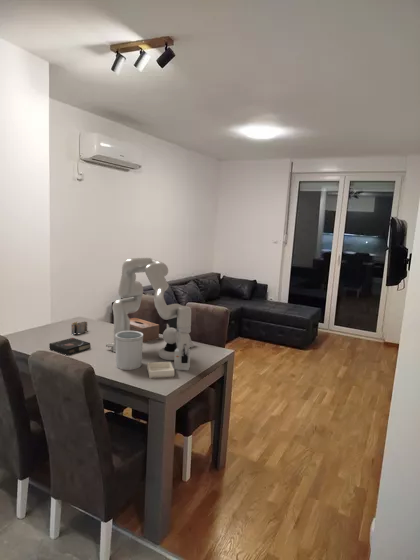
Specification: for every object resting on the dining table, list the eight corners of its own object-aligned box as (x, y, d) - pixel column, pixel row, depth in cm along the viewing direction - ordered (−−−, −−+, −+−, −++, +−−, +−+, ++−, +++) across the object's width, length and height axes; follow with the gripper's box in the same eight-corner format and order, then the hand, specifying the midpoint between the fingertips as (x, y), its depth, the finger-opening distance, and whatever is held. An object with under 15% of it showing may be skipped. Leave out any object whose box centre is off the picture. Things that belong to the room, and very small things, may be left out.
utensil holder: (136, 371, 194) (137, 339, 192) (110, 368, 197) (110, 336, 195) (146, 362, 209) (147, 332, 206) (121, 359, 211) (122, 329, 209)
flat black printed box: (67, 356, 213) (67, 349, 213) (49, 349, 222) (49, 343, 222) (90, 349, 227) (90, 343, 226) (72, 343, 236) (72, 337, 236)
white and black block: (176, 352, 229) (173, 336, 230) (171, 352, 232) (167, 336, 233) (194, 346, 242) (191, 331, 243) (189, 347, 245) (186, 332, 246)
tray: (149, 378, 187) (149, 371, 186) (146, 369, 199) (147, 362, 198) (174, 376, 190) (174, 370, 190) (170, 367, 202) (170, 361, 202)
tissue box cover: (118, 334, 260) (118, 320, 259) (135, 331, 271) (135, 317, 270) (142, 343, 244) (142, 328, 243) (158, 338, 255) (159, 324, 254)
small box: (190, 367, 205) (190, 348, 204) (188, 370, 199) (189, 351, 198) (175, 365, 206) (176, 347, 204) (173, 369, 200) (174, 350, 199)
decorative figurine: (188, 358, 219) (190, 325, 216) (168, 363, 209) (170, 329, 206) (173, 351, 229) (174, 320, 227) (153, 356, 219) (154, 323, 217)
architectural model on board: (74, 336, 252) (74, 322, 251) (71, 335, 254) (71, 321, 252) (87, 332, 262) (87, 319, 261) (84, 331, 263) (84, 318, 262)
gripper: (174, 325, 207) (173, 355, 209) (179, 333, 190) (178, 365, 193) (187, 325, 209) (186, 354, 211) (194, 333, 192) (192, 365, 195)
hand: (182, 359), depth 202 cm, fingers open, 9 cm apart
